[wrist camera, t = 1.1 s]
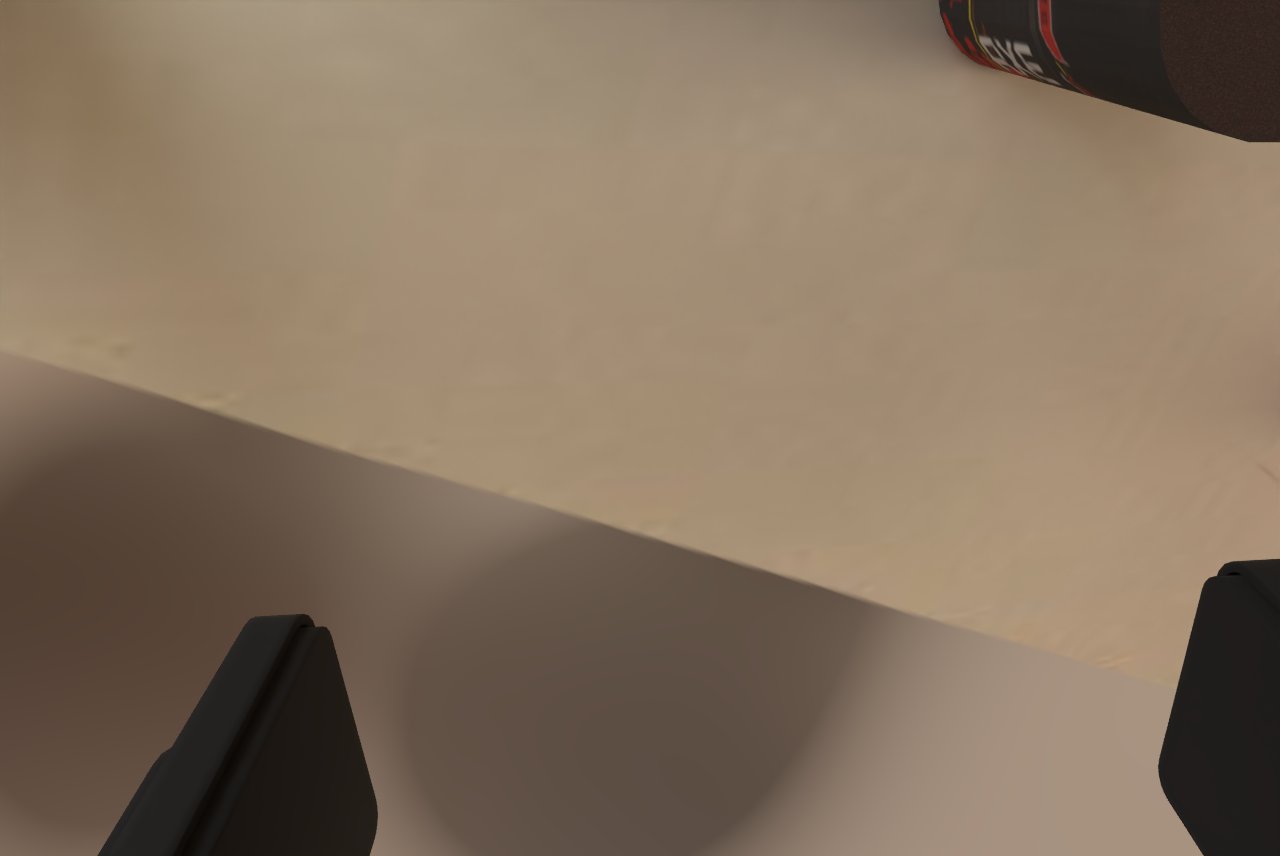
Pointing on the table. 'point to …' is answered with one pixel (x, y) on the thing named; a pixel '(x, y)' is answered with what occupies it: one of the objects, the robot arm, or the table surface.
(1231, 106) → the deodorant
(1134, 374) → the table surface
